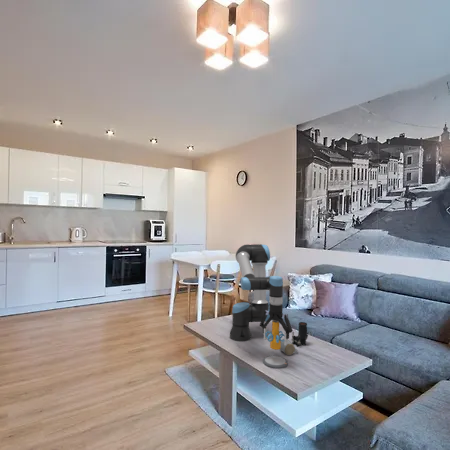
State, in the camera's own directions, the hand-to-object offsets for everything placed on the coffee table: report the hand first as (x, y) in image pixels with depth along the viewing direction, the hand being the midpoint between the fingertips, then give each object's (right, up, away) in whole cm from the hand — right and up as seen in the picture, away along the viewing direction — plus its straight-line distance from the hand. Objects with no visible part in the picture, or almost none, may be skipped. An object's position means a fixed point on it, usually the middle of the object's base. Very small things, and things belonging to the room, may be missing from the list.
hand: (275, 341), depth 173 cm
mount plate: (0, -12, 0) cm, 12 cm away
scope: (+21, -13, +28) cm, 37 cm away
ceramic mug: (+11, -12, +14) cm, 22 cm away
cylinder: (0, -4, 0) cm, 4 cm away
